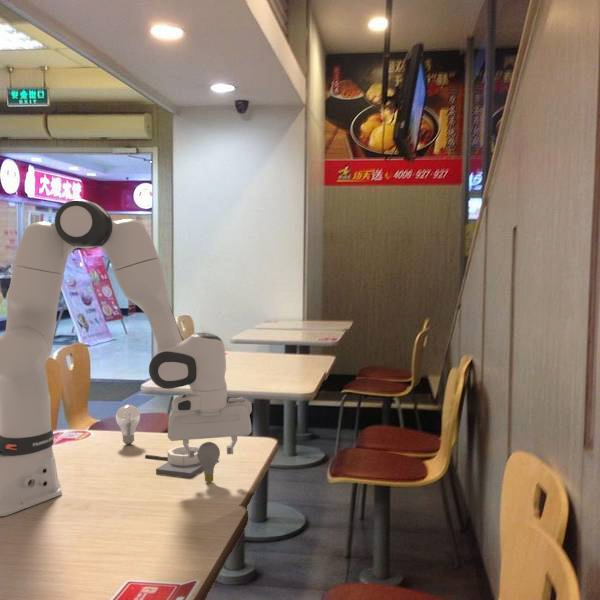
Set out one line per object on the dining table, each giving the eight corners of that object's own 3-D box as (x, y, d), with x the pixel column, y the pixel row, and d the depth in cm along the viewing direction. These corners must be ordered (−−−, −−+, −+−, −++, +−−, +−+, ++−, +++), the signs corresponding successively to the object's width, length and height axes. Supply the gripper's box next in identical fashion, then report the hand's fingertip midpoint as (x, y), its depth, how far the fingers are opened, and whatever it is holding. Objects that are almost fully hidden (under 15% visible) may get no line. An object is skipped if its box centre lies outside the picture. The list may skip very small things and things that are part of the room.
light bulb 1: (116, 449, 181) (115, 408, 180) (116, 442, 187) (115, 403, 187) (140, 447, 182) (140, 406, 182) (140, 440, 189) (139, 401, 188)
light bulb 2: (209, 477, 156) (209, 437, 156) (224, 481, 153) (224, 441, 152) (193, 483, 152) (192, 442, 151) (208, 488, 148) (207, 446, 148)
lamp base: (190, 477, 156) (190, 463, 156) (123, 469, 162) (122, 455, 162) (218, 459, 170) (217, 446, 170) (154, 452, 177) (154, 440, 176)
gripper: (250, 394, 156) (251, 448, 157) (166, 399, 153) (169, 454, 153) (252, 399, 150) (254, 455, 151) (166, 404, 146) (168, 462, 147)
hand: (210, 455), depth 152 cm, fingers open, 8 cm apart
